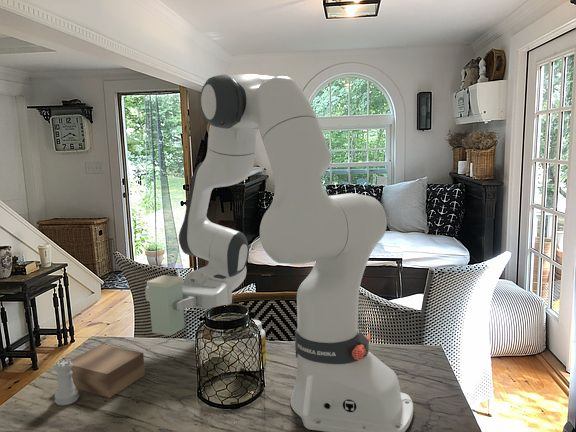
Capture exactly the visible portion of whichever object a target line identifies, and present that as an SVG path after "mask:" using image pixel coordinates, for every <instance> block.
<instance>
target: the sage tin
mask: <svg viewBox="0 0 576 432" xmlns="http://www.w3.org/2000/svg"><path fill="white" fill-rule="evenodd" d="M182 281H184V277H183V276H176V275H175V276H174V275H167V274H166V275H165V274H163V275H160V276H157V277H155V278H152V279H150V280H147V281H146V286H148V287H149V299H150V302H149V309H150V310H149V311H150V312H149V313H150V320H151V322H150V323H151V333H152V334H156V335H163V336H169V337H171V336H173V335H174V334H177V333H178V332H180V331H181V330H184V329H185V328H186V325H185V324H186V323H185V311H184V310H185V308H184V309H182V310H174V308H173V307H174V306H173V303H174V302H175V301H177V300H183V293H182Z"/></svg>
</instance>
